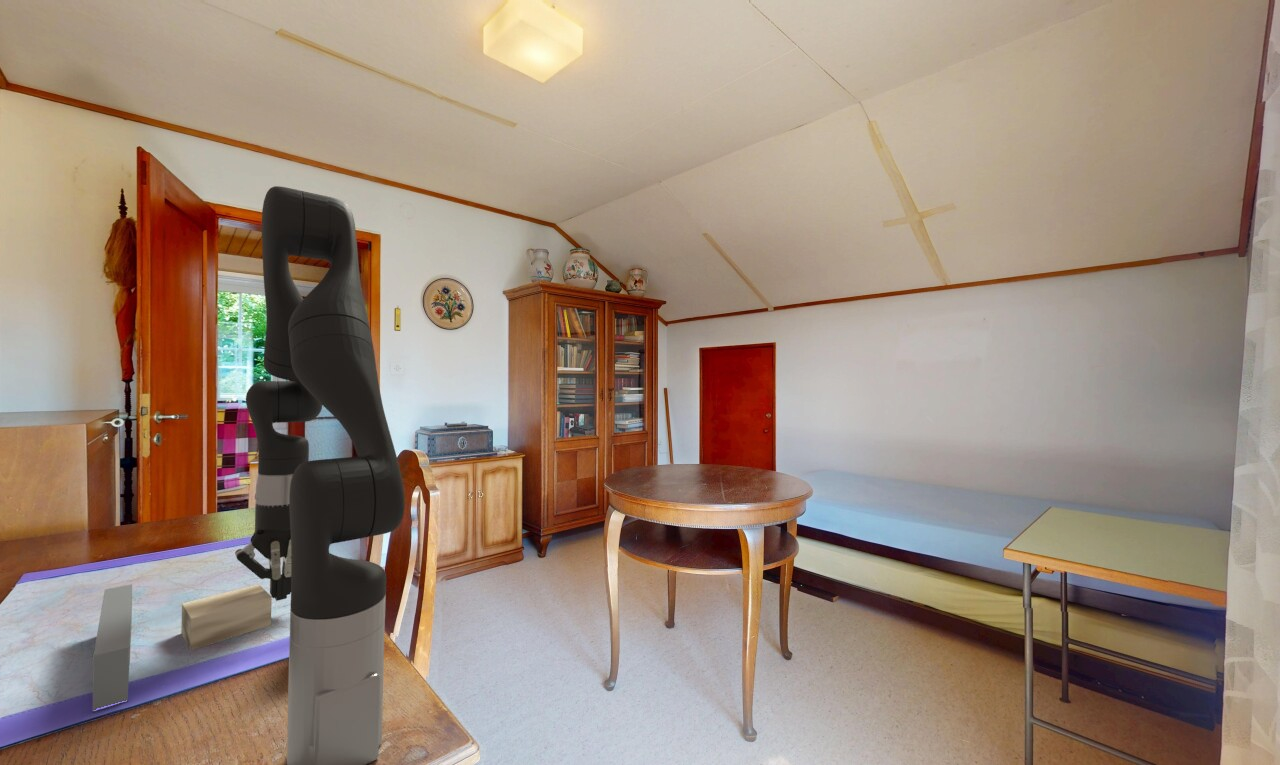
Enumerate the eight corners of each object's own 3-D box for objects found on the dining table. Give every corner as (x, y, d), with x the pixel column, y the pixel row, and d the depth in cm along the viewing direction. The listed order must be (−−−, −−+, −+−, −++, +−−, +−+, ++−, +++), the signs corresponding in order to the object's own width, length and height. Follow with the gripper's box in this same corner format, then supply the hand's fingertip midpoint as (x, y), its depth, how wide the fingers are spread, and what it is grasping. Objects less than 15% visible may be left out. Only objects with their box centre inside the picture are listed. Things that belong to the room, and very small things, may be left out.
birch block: (270, 626, 83) (271, 596, 83) (190, 651, 75) (191, 618, 75) (258, 612, 87) (258, 584, 87) (181, 634, 79) (181, 603, 79)
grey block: (127, 701, 63) (128, 647, 63) (92, 712, 61) (93, 655, 61) (131, 627, 80) (132, 584, 80) (104, 633, 78) (104, 589, 78)
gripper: (236, 509, 78) (233, 618, 79) (333, 496, 87) (330, 594, 88) (230, 499, 84) (228, 601, 84) (322, 488, 93) (320, 580, 93)
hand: (280, 598), depth 86 cm, fingers closed
